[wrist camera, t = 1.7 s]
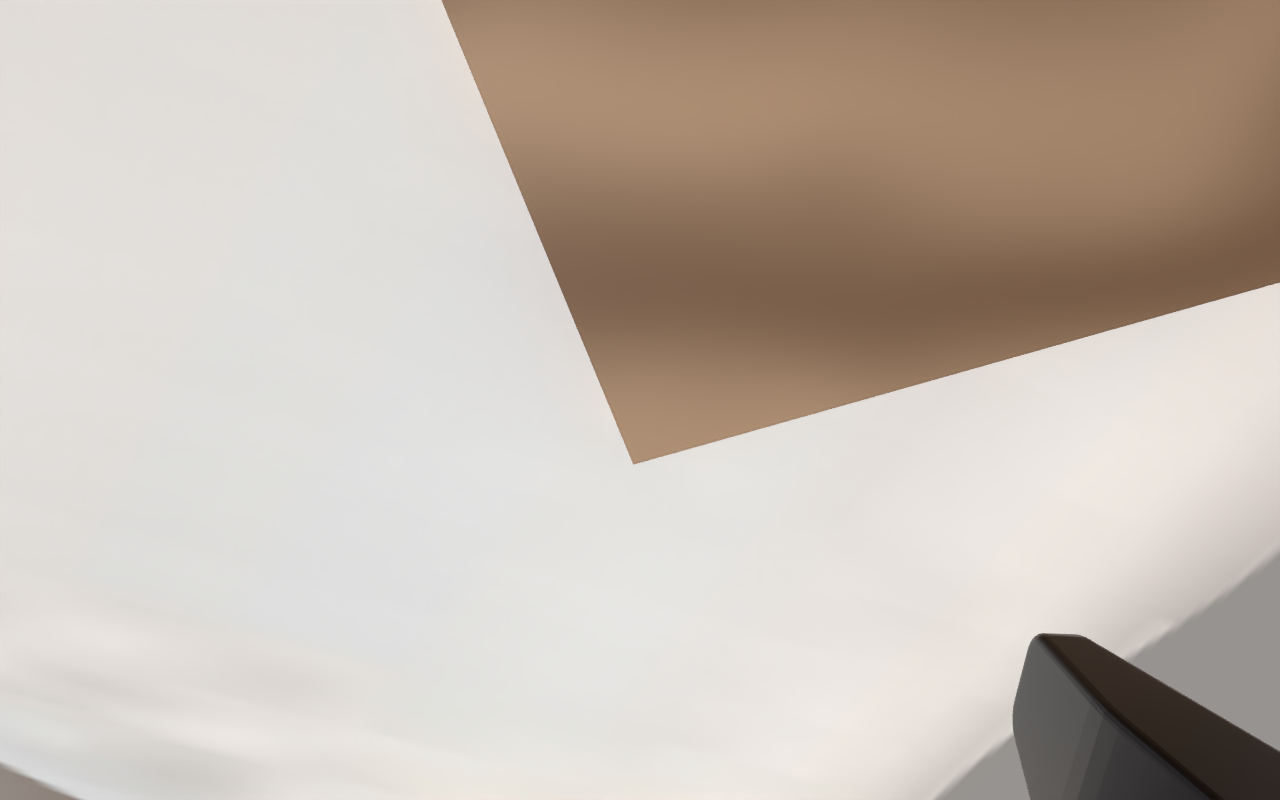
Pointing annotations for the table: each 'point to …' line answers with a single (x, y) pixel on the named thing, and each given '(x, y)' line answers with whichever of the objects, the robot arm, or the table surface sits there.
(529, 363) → the table surface
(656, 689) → the table surface
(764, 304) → the walnut board
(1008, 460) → the table surface
